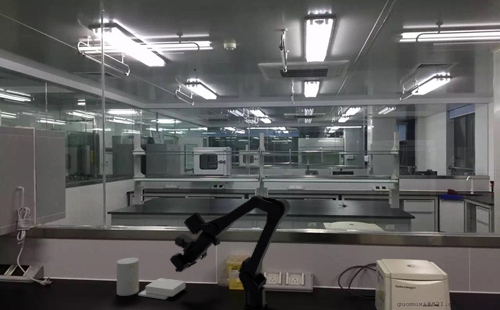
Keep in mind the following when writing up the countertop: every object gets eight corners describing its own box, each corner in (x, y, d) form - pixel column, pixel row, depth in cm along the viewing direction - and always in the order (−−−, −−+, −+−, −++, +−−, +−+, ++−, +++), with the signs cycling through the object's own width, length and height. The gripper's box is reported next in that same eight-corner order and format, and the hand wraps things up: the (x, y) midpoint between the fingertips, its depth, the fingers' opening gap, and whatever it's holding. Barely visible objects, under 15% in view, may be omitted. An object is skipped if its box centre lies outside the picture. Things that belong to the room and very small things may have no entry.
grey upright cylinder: (131, 296, 121) (131, 264, 121) (112, 295, 122) (112, 263, 123) (142, 288, 128) (142, 258, 129) (124, 286, 130) (124, 257, 130)
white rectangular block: (185, 281, 126) (159, 278, 130) (172, 289, 118) (145, 286, 122) (185, 288, 126) (159, 284, 130) (172, 296, 118) (145, 293, 122)
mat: (179, 289, 127) (179, 287, 127) (164, 299, 117) (164, 297, 117) (154, 285, 131) (154, 284, 131) (138, 295, 121) (138, 293, 121)
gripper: (200, 223, 130) (176, 248, 134) (174, 233, 113) (148, 261, 116) (217, 244, 127) (193, 269, 131) (194, 257, 110) (167, 286, 113)
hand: (176, 270), depth 123 cm, fingers closed
